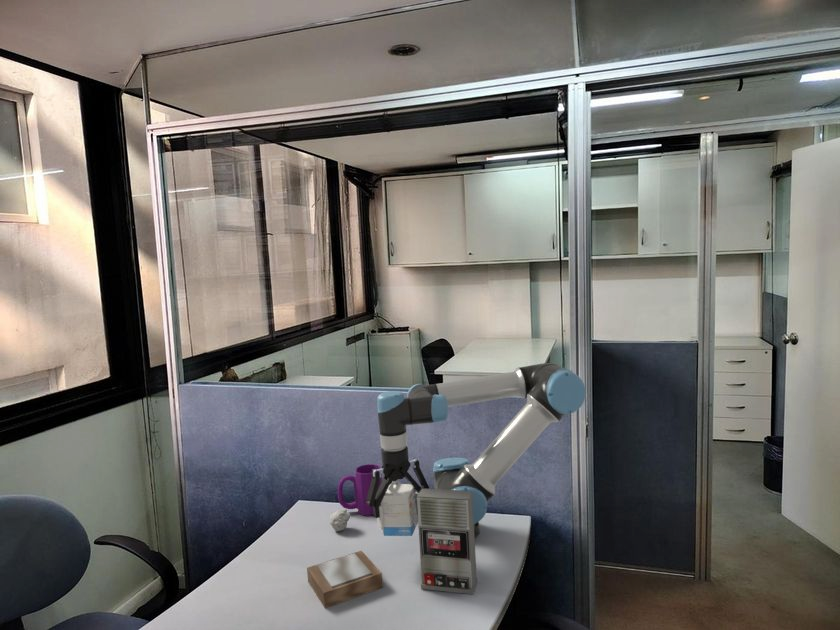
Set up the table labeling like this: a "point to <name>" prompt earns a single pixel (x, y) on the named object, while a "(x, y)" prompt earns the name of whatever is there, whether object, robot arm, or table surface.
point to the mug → (359, 489)
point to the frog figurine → (339, 519)
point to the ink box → (399, 510)
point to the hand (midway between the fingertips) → (400, 521)
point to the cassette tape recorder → (447, 540)
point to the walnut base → (344, 578)
